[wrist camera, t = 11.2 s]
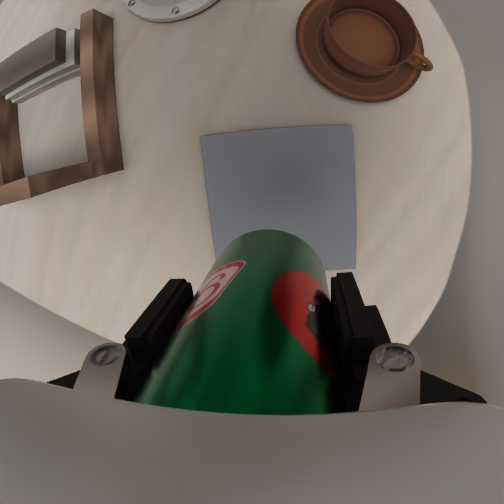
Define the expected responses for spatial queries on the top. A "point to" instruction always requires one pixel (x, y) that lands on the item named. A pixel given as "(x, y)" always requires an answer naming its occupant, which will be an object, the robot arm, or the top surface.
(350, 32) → the cup and saucer
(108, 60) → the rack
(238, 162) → the mat
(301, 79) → the top surface
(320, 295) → the soda can
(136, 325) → the robot arm
